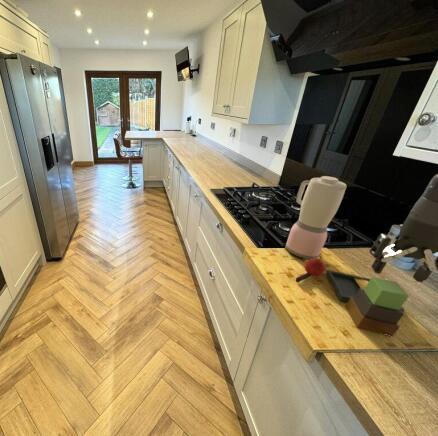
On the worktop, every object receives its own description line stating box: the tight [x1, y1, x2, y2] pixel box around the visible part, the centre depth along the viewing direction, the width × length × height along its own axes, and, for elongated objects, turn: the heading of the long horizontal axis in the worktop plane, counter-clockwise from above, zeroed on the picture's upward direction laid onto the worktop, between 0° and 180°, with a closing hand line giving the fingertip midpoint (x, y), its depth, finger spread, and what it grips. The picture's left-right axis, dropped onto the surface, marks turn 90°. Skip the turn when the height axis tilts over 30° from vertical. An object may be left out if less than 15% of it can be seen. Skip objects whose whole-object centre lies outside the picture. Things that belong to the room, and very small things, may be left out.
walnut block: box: [345, 297, 401, 337], centre depth 66 cm, size 8×8×4 cm
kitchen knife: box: [295, 266, 327, 283], centre depth 84 cm, size 18×1×2 cm, turn 117°
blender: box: [284, 175, 348, 261], centre depth 92 cm, size 16×12×32 cm
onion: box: [304, 256, 326, 277], centre depth 83 cm, size 6×6×8 cm
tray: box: [325, 269, 405, 312], centre depth 77 cm, size 16×14×2 cm
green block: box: [364, 276, 410, 310], centre depth 63 cm, size 6×6×5 cm
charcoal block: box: [354, 288, 405, 324], centre depth 65 cm, size 7×7×4 cm
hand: (396, 275), depth 60 cm, fingers open, 8 cm apart
